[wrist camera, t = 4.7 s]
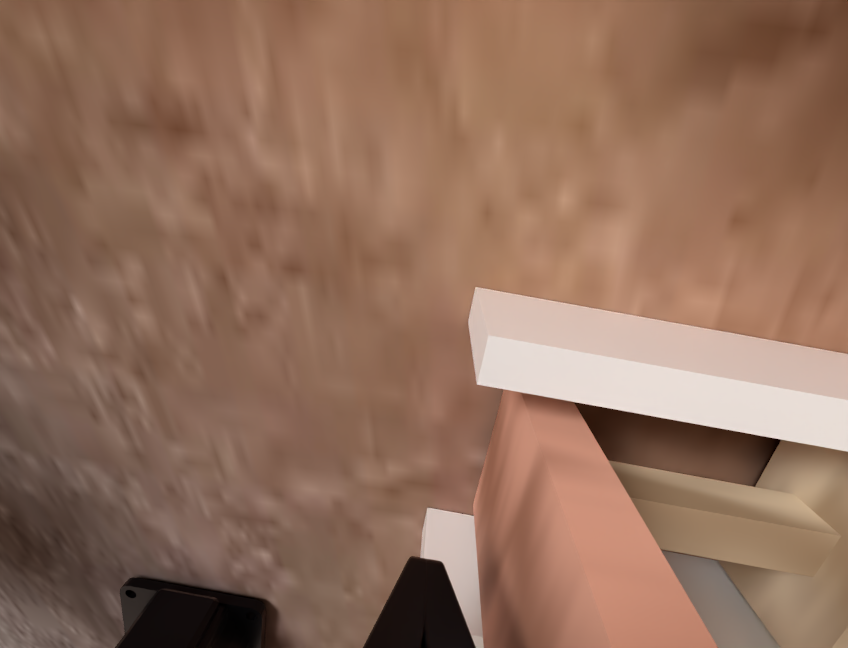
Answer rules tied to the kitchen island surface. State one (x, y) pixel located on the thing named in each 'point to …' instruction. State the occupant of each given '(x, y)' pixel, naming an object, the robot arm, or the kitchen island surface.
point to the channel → (647, 413)
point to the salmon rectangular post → (648, 540)
